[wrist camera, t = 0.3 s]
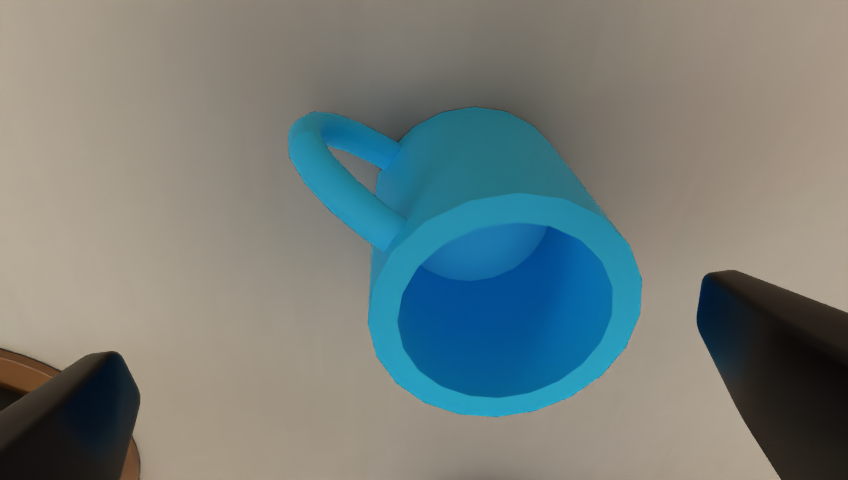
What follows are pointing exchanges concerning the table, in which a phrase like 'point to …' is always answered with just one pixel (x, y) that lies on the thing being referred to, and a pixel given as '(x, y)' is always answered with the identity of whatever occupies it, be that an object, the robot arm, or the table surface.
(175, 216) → the table surface
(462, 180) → the mug
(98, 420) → the robot arm
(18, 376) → the turntable
